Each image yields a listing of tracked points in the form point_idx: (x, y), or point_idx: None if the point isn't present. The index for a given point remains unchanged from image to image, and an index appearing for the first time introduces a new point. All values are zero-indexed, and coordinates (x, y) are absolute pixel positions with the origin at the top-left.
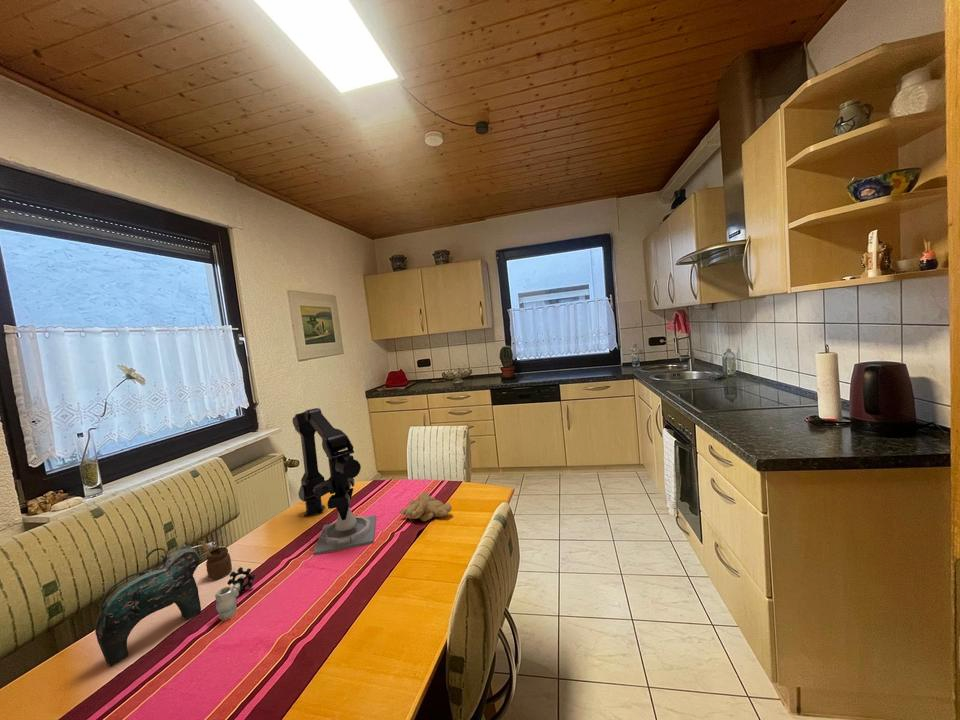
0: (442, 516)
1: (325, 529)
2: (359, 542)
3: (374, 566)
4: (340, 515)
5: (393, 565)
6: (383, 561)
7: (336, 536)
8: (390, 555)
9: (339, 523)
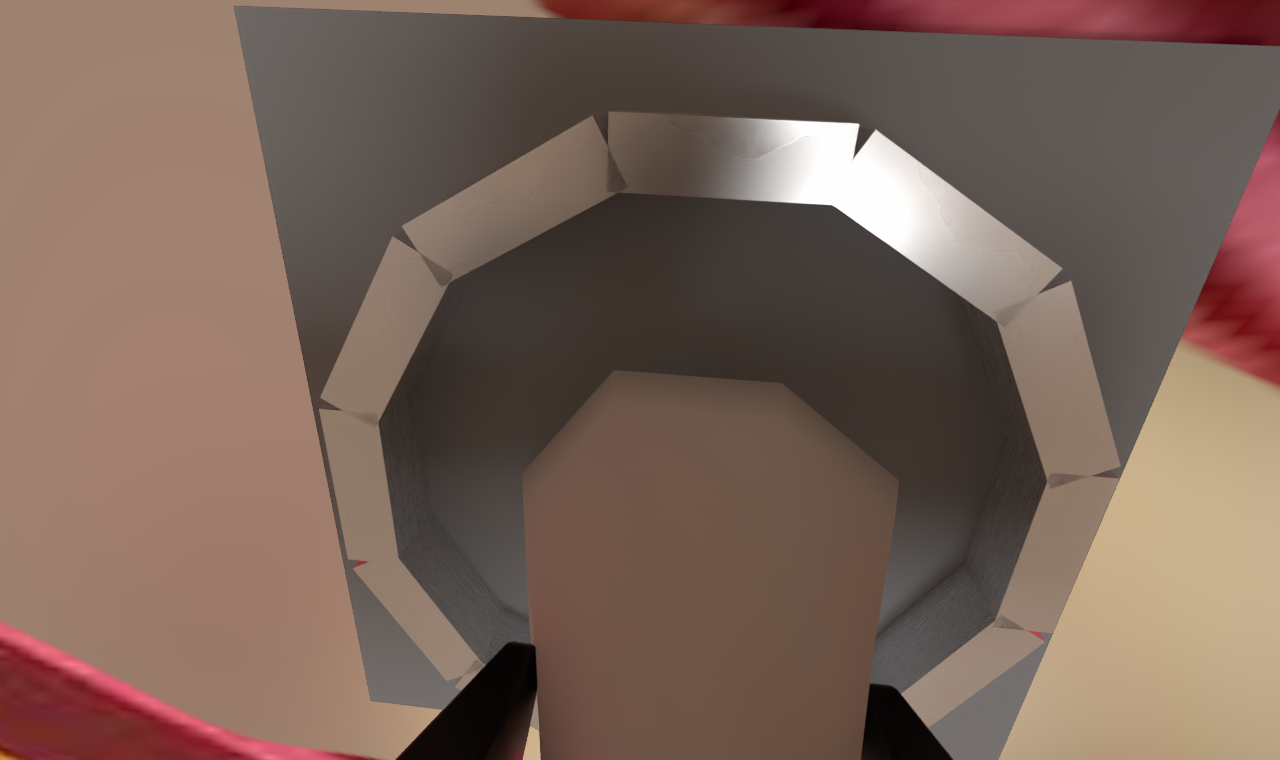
0: None
1: (817, 167)
2: (369, 594)
3: (10, 652)
4: (409, 750)
5: (26, 752)
6: (78, 709)
7: (640, 337)
8: (158, 754)
9: (556, 533)
